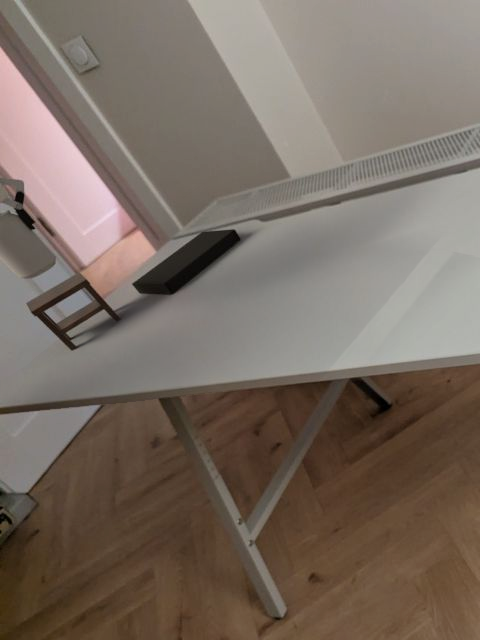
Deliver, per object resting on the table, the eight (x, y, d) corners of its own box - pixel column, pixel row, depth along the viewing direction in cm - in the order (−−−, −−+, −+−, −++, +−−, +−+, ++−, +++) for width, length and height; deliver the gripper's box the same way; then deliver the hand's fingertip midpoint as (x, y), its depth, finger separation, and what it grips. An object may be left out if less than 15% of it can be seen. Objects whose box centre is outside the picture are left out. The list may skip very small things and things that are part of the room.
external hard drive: (139, 293, 131) (131, 283, 129) (208, 241, 145) (201, 231, 143) (172, 294, 123) (163, 283, 121) (241, 239, 137) (234, 229, 135)
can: (39, 277, 104) (-13, 223, 97) (14, 284, 106) (-39, 231, 99) (67, 257, 109) (20, 203, 102) (42, 263, 112) (-6, 212, 105)
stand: (70, 351, 117) (30, 312, 111) (64, 340, 123) (25, 303, 117) (122, 318, 122) (86, 279, 116) (113, 310, 128) (79, 272, 122)
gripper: (-130, 176, 87) (-36, 267, 97) (-18, 129, 94) (59, 218, 104) (-125, 174, 92) (-36, 261, 103) (-19, 129, 99) (54, 214, 110)
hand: (11, 239), depth 103 cm, fingers closed on can, 7 cm apart
